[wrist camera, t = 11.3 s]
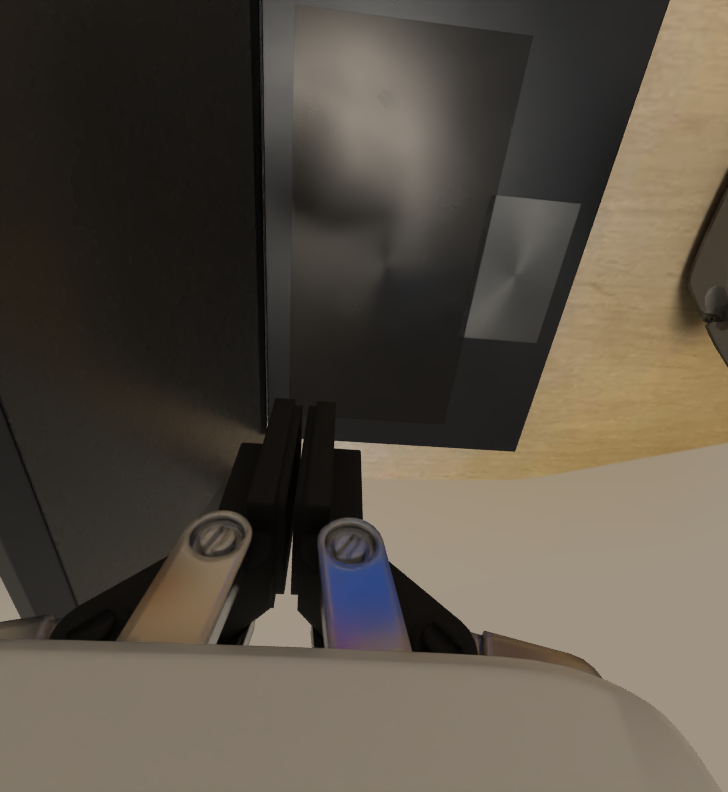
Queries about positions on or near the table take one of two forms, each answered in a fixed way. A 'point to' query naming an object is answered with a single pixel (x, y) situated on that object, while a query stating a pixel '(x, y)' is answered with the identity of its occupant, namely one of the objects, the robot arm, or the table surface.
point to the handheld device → (713, 279)
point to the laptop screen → (124, 282)
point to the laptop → (434, 200)
